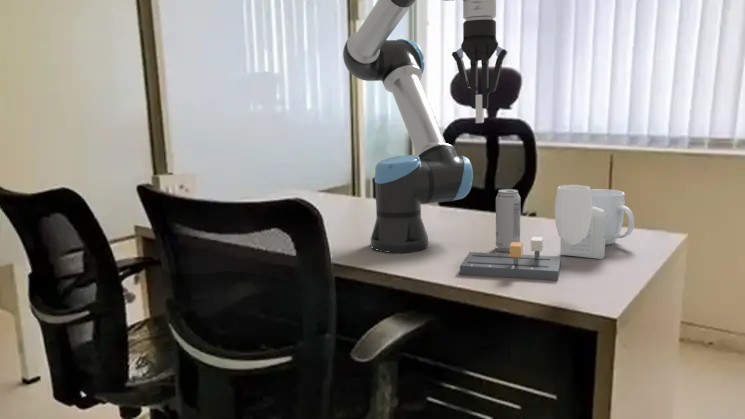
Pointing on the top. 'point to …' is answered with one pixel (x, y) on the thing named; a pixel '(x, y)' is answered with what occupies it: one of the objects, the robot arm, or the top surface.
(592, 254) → the photo printer
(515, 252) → the fader orange
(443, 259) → the top surface
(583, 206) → the cup
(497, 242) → the energy drink can
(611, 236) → the mug
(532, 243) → the fader white
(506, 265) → the console
